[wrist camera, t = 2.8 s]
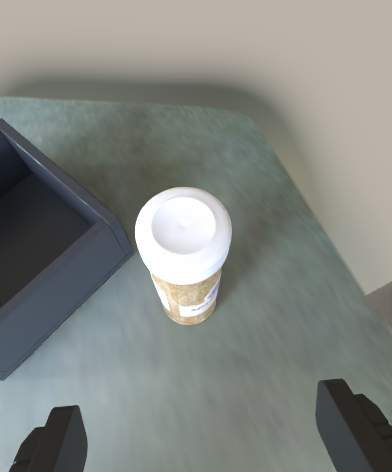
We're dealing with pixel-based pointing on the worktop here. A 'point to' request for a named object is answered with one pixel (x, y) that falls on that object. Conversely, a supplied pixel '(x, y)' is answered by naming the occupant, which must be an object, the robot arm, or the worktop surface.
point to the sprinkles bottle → (184, 250)
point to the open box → (47, 247)
